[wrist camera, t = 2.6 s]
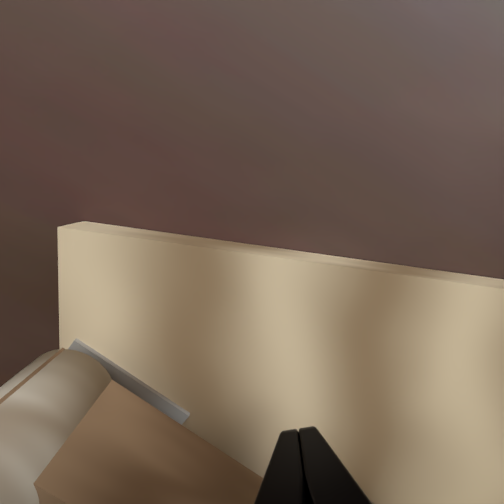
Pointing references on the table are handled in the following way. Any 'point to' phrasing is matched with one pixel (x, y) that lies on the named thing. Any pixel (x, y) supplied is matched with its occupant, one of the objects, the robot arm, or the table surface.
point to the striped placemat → (299, 353)
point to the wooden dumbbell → (103, 443)
